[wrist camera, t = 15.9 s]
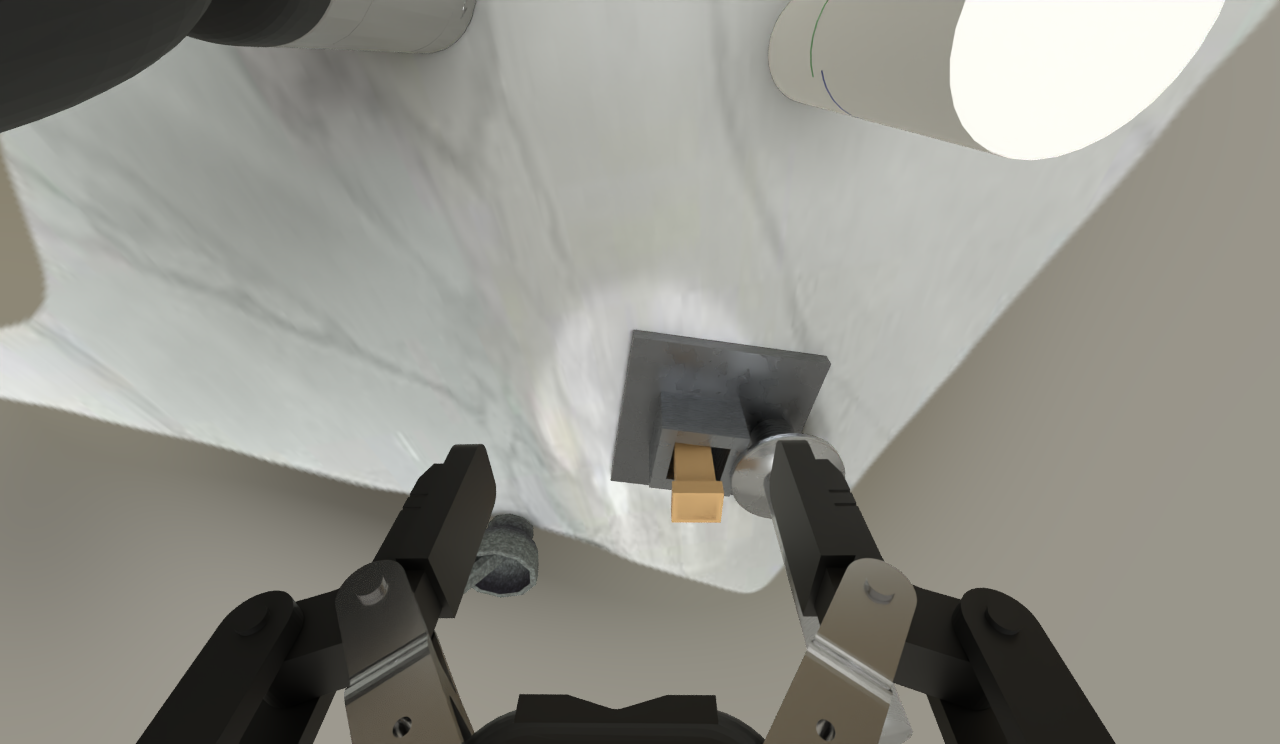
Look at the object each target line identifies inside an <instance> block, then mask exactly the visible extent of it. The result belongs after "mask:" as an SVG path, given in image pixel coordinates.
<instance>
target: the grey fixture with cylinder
mask: <svg viewBox="0 0 1280 744" xmlns="http://www.w3.org/2000/svg"><path fill="white" fill-rule="evenodd" d="M830 365H831V363H830V361H829V360H828V358H827V356H821V355H814V354H806V353H799V352H792V351H784V350H777V349H770V348H763V347H755V346H748V345H741V344H734V343H726V342H719V341H712V340H704V339H697V338H690V337H683V336H675V335H668V334H661V333H653V332H646V331H639V330H634V332H633V339H632V345H631V351H630V358H629V364H628V370H627V377H626V383H625V389H624V396H623V402H622V408H621V415H620V421H619V427H618V434H617V440H616V446H615V453H614V459H613V465H612V472H611V481H618V482H627V483H635V484H644V485H649V487H651V488H659V489H668V490H672V481H675V480H674V464H673V449H674V445H675V442H676V443H684V444H692V445H700V446H709V447H711V453H712V459H713V465H714V472H715V478H716V481H722V484H723V490H724V496H730V494H731V495H734V497H735V499H736V501H737V502H738V503H739V505H740V506H742V507H743V508H744V509H745V510H747V511H748V512H750V513H752V514H755V515H757V516H760V517H764V518H770V519H772V521H773V524H774V528H775V532H776V535H777V539H778V543H779V547H780V550H781V554H782V558H783V561H784V565H785V569H786V573H787V576H788V580H789V584H790V587H791V591H792V595H793V599H794V602H795V605H796V610H797V613H798V617H799V620H800V624H801V628H802V632H803V635H804V639H805V643H806V647H807V649H808V647H809V645H810V643H811V641H812V640H814V638H815V636H816V634H817V632H818V630H819V628H820V624H819V621H818V617H803V615H802V611H801V608H800V604H799V601H798V597H797V593H796V590H795V586H794V583H793V579H792V575H791V572H790V568H789V565H788V561H787V557H786V554H785V550H784V547H783V543H782V539H781V536H780V532H779V529H778V525H777V521H776V518H775V514H774V510H773V507H772V503H771V498H770V476H771V470H772V464H773V458H774V453H775V447H776V443H777V441H778V440H807V441H808V443H809V445H810V447H811V449H812V452H813V454H814V457H815V459H828V460H829V461H830V462H831V463H832V464H833V465H834V466H835V467H837V468H838V469H839V470H840V471H841V472H842V474H843V476H844V478H845V468H844V465H843V462H842V460H841V458H840V456H839V454H838V452H837V451H836V450H835V448H834V447H833V446H832V445H830V444H829V443H828V442H826V441H825V440H823V439H821V438H818V437H816V436H812V435H808V434H801V431H802V429H803V427H804V424H805V422H806V420H807V418H808V415H809V413H810V411H811V409H812V406H813V404H814V402H815V399H816V397H817V395H818V393H819V390H820V388H821V386H822V384H823V381H824V379H825V377H826V374H827V372H828V370H829V368H830ZM891 690H892V691H893V693H892V698H891V703H890V706H889V710H888V713H887V716H886V720H885V723H884V726H883V729H882V733H881V736H880V739H879V743H878V744H901V743H904V742H905V741H907V740H908V739H909V738H910V737H911V736H912V733H913V731H912V728H911V726H910V723H909V721H908V718H907V716H906V713H905V711H904V708H903V705H902V703H901V701H900V698H899V695H898V693H897V690H896V688H895V685H894V683H892V687H891Z"/></svg>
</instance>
